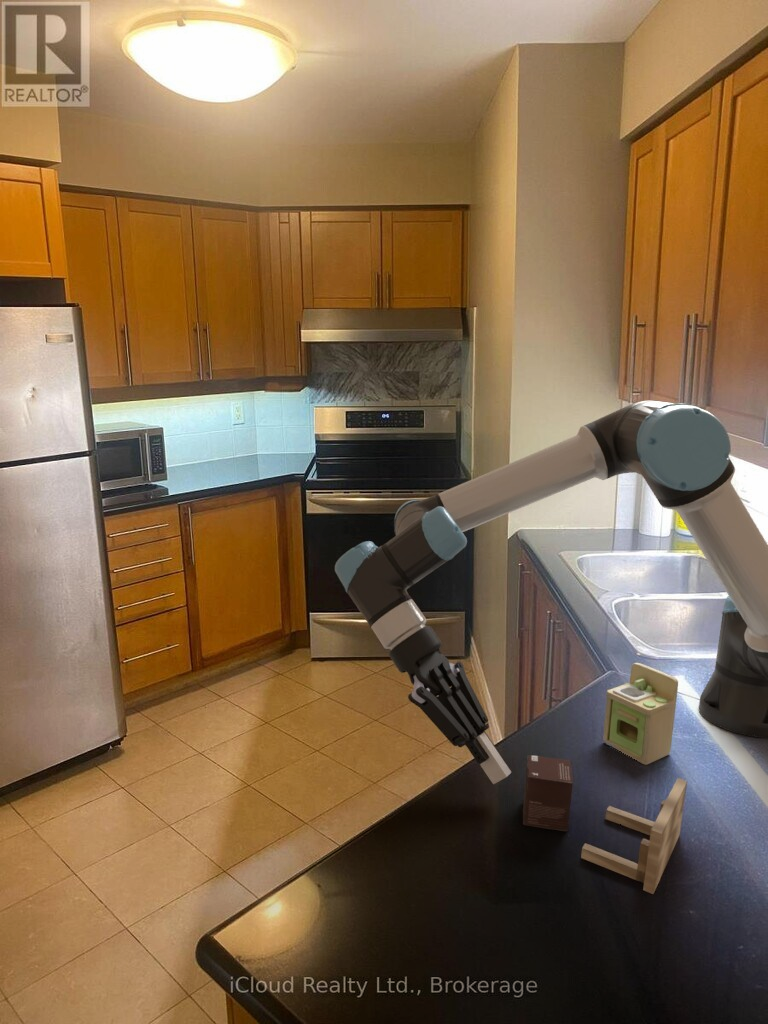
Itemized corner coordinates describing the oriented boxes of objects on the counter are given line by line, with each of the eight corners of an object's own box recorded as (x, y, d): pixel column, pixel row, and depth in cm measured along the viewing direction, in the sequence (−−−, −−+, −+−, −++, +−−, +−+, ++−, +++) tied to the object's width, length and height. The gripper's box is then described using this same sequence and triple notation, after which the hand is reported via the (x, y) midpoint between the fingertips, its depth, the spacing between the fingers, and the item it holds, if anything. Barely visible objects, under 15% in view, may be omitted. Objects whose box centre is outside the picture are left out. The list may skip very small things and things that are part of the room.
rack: (610, 810, 104) (617, 758, 103) (679, 835, 100) (687, 780, 98) (577, 863, 93) (584, 805, 91) (653, 894, 88) (661, 833, 86)
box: (568, 833, 99) (573, 783, 97) (522, 826, 100) (526, 776, 99) (566, 807, 105) (571, 759, 103) (522, 800, 106) (527, 753, 104)
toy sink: (598, 743, 123) (607, 669, 121) (626, 732, 127) (634, 660, 125) (643, 767, 116) (653, 689, 114) (670, 754, 121) (680, 679, 118)
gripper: (414, 638, 118) (502, 769, 112) (367, 663, 107) (462, 810, 101) (445, 613, 114) (539, 748, 108) (400, 637, 103) (501, 788, 98)
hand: (502, 778), depth 105 cm, fingers closed
